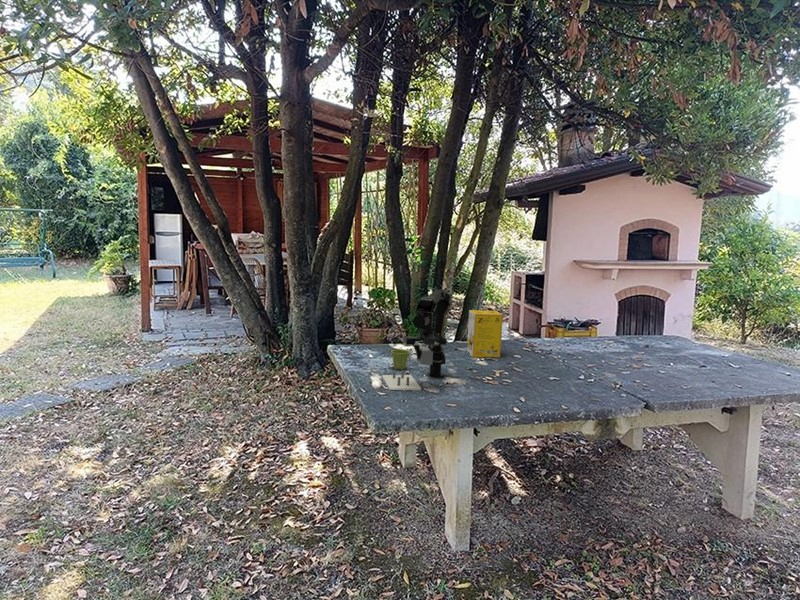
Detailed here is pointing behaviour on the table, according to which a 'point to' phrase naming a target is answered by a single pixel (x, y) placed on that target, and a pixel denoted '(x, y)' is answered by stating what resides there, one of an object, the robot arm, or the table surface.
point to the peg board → (400, 382)
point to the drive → (425, 356)
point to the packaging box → (484, 333)
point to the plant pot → (400, 358)
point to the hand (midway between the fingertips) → (424, 359)
